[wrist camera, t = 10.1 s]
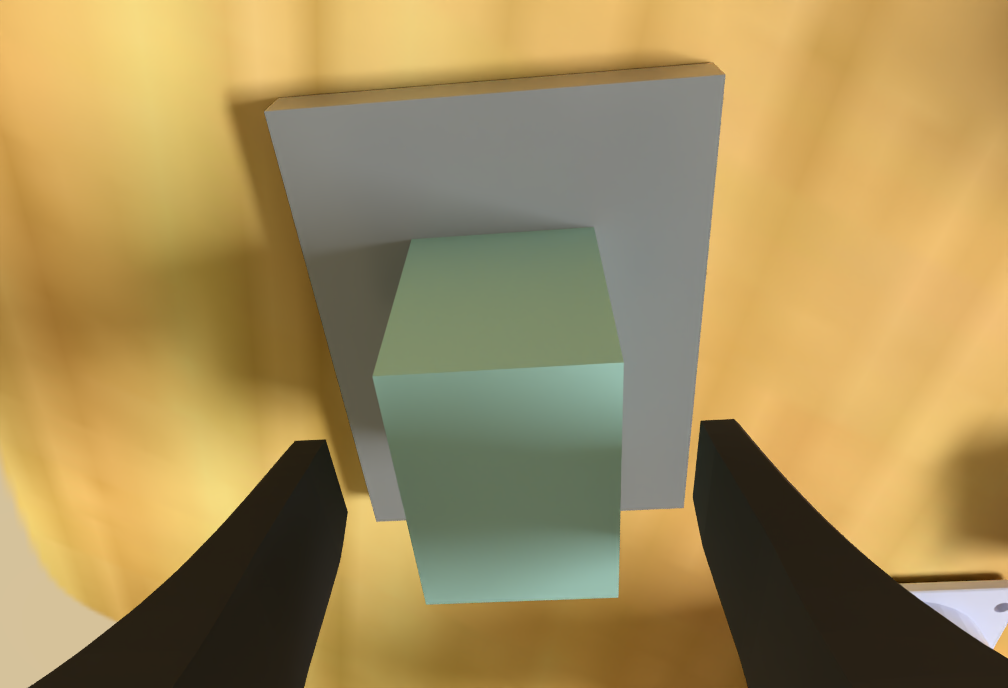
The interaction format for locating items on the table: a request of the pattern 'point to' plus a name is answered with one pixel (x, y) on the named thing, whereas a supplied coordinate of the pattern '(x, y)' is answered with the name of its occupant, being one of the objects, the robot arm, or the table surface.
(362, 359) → the slate board
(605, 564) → the teal brick
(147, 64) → the table surface
